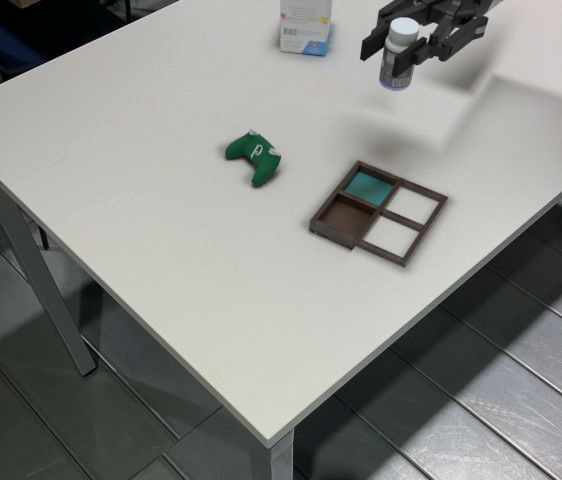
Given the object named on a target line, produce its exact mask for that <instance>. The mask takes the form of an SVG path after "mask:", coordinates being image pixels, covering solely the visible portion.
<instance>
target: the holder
mask: <svg viewBox="0 0 562 480" xmlns="http://www.w3.org/2000/svg"><path fill="white" fill-rule="evenodd" d="M401 188H405V189H407V190H410V191H412V192H415V193H416V194H420V195H422V196H424V197H426V198H429V199H431V200H434V201H437V202H438V203H437V205H436V206H435V208H434V209H433V211H432V212H431V214H430V216H429V217H428V219H427V220H426V221H425V223H424V224H422V223H420V222H418V221H416V220H413V219H411V218H408V217H406V216H404V215H403V214H399V213H396V212H395V211H392V210H390V209H387V208H388V206H389V205H390V203H391V202H392V200H393V199H394V197H395V196H396V195H397V194H398V192H399V190H400V189H401ZM449 199H450V198H449V196H448V195H444V194H442V193H441V192H438V191H435V190H433V189H430V188H428V187H425V186H423V185H420V184H419V183H415V182H413V181H411V180H409V179H405V178H403V177H400V176H398V175H396V174H393V173H391V172H388V171H386V170H384V169H381V168H378V167H377V166H373V165H371V164H369V163H366V162H365V161H361V160H356V161H355V163H354V164H353V166H351V168H350V169H349V171H348V172H347V173H346V175H344V177H343V178H342V180H341V181H340V182H339V183H338V184H337V186H336V187H335V188H334V190H332V191H331V194H330V195H328V197H327V198H326V200H324V202H323V203H322V204H321V206H320V207H319V208H318V209H317V211H316V212H315V214H313V216H312V217H311V218H310V220H309V224H308V225H309V227H308V231H309V230H311V231H310V232H312V231H313V232H312V233H314V232H316V233H318V234H320V235H319V236H321V235H322V236H321V237H323V236H324V237H323V238H325V237H327V238H329V239H328V240H330V239H331V240H330V241H332V240H333V241H332V242H334V241H336V242H338V243H340V244H339V245H341V244H342V245H341V246H343V245H345V246H347V247H349V248H348V249H350V248H352V249H353V250H354V249H355V248H356V247H358V248H360V249H363V250H365V251H367V252H369V253H371V254H374V255H375V256H378V257H381V258H383V259H385V260H388V261H390V262H392V263H394V264H397V265H398V266H401V267H403V268H405V267H406V266H407V265H408V263H409V261H410V260H411V258H412V257H413V255H414V254H415V252H416V250H417V249H418V247H419V246H420V244H421V243H422V242H423V240H424V239H425V237H426V235H427V233H428V232H429V230H430V229H431V227H432V226H433V224H434V223H435V221H436V220H437V219H438V216H439V215H440V214H441V212H442V210H443V209H444V207H445V206H446V204H447V203H448V201H449ZM380 217H384V218H385V219H389V220H390V221H392V222H394V223H397V224H399V225H403V226H404V227H406V228H409V229H412V230H414V231H416V232H418V234H417V235H416V237H415V238H414V239H413V241H412V243H411V245H410V246H409V248H408V249H407V251H406V252H405V254H404V255H403V256H401V255H399V254H396V253H393V252H392V251H389V250H387V249H384V248H382V247H380V246H377V244H373V243H372V242H369V241H367V240H365V238H366V237H367V235H368V234H369V233H370V231H371V230H372V228H373V227H374V226H375V224H376V223H377V221H378V220H379V219H380ZM316 233H315V234H316ZM318 234H317V235H318ZM327 238H326V239H327ZM336 242H335V243H336ZM338 243H337V244H338ZM345 246H344V247H345ZM347 247H346V248H347ZM352 249H351V250H352Z"/></svg>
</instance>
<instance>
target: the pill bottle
mask: <svg viewBox="0 0 562 480" xmlns="http://www.w3.org/2000/svg"><path fill="white" fill-rule="evenodd" d="M420 29H421V28H420V25H419V24H418V23H417V22H416V21H415V20H413V19H410V18H397V19H395V20H393V21H392V22H391V25H390V29H389V35H388V36H387V37H386V40H385V44H384V48H383V52H382V56H381V64H380V70H379V76H378V82H379V84H380V86H382V88H384V89H386V90H388V91H391V92H401V91H404V90H406V89H407V88H409V87H410V86H411V83H412V79H413V75H414V71H415V66H416V65H415V64H414V65H412V66H411V67H410V68H408V69H407V70H406V71H404V72H403V73H402V74H400V75H399V76H398V77H396V78H395V77H393V76H391V75H392V70H393V64H394V59H395V56H397V55H398V54H399V53H401V52H402V51H403V50H405V49H406V48H407V47H409V46H410V45H412V44H413V43H414V42H416V41H417V40H418V39H419V34H420Z"/></svg>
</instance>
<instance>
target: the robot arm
mask: <svg viewBox="0 0 562 480" xmlns="http://www.w3.org/2000/svg"><path fill="white" fill-rule="evenodd" d="M501 2H504V0H392V1H390V2H389V3H388V4H386V5H384V6H383V7H382V8H380V9H378V13H377V18H376V26H375V27H374V28H373V29H371V31H370V34H369V35H368V36H366V37H364V38H363V39H362V40H361V46H360V54H359V61H362V62H365V61H367V60H368V59H370V58H372V56H374V55H376V54H377V53H378V52H380V51H382V49H384V44H385V40H386V37H387V36H388V35H389V29H390V25H391V22H392V21H393V20H395V19H397V18H410V19H413V20H415V21H416V22H417V23H418V24H419V26H422V27H426V26H429V25H431V24H436V25H437V26H436V27H435V29H434V30H433V32H430V33H429V36H428V37H426V36H421V37H420V38H417V39H418V40H417V41H416V42H414V43H413V44H412V45H410V46H409V47H407V48H406V49H405V50H403V51H402V52H401V53H399V54H398V55H397V56H395V59H394V64H393V70H392V75H391V76H393V77H395V78H396V77H398V76H399V75H400V74H402V73H403V72H404V71H406V70H407V69H408V68H410V67H411V66H412V65H414V64H415V66H420V65H422V64H423V63H425V62H426V61H427V60H428V59H433V58H434V57H436V58H437V59H438V61H440V62H441V63H444V62H447V61H449V59H451V58H452V57H454V55H456V54H458V53H459V52H460V51H461V50H463V49H464V48H465V47H466V46H467V45H469V44H470V43H471V42H473V41H475V40H478V39H481V38H483V37H484V35H485V32H486V30H487V26H488V23H489V17H488V16H487V15H486V14H488V13H489V12H490V11H492V10H493V9H494V8H496V7H497V6H498V5H499V4H501ZM456 29H457V30H456ZM454 30H455V31H454ZM453 31H454V32H453Z"/></svg>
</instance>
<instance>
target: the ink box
mask: <svg viewBox="0 0 562 480" xmlns="http://www.w3.org/2000/svg"><path fill="white" fill-rule="evenodd" d="M279 1H280V2H279V3H280V6H279V7H280V11H279V12H280V17H279V18H280V26H279V27H280V33H279V34H280V38H279V39H280V40H279V42H280V43H279V44H280V45H279V46H280V49H279V50H280V51H281V52H283V53H284V52H285V53H294V54H302V55H303V54H304V55H312V56H313V55H314V56H323V57H325V56H326V54H327V49H328V44H329V40H330V34H331V28H332V27H331V26H332V14H333V1H334V0H279Z"/></svg>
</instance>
